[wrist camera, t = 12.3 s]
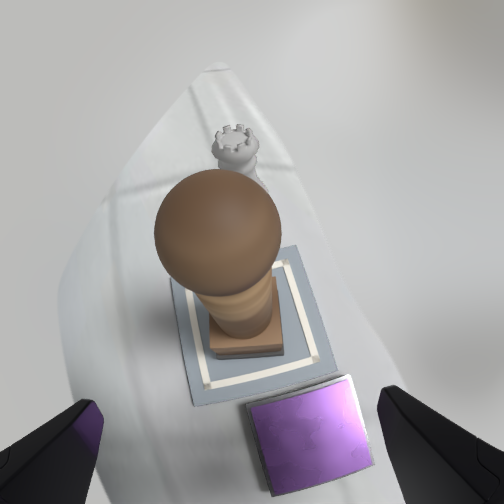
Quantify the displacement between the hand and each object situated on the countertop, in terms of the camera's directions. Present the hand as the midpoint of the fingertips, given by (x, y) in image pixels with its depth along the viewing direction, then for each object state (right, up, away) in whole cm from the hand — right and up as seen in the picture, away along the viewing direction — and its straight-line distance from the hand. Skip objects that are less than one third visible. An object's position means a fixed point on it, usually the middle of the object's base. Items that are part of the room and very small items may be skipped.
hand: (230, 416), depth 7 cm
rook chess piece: (0, +9, +18) cm, 20 cm away
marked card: (0, 0, +13) cm, 13 cm away
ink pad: (+5, -8, +9) cm, 13 cm away
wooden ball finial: (0, 0, +12) cm, 12 cm away
